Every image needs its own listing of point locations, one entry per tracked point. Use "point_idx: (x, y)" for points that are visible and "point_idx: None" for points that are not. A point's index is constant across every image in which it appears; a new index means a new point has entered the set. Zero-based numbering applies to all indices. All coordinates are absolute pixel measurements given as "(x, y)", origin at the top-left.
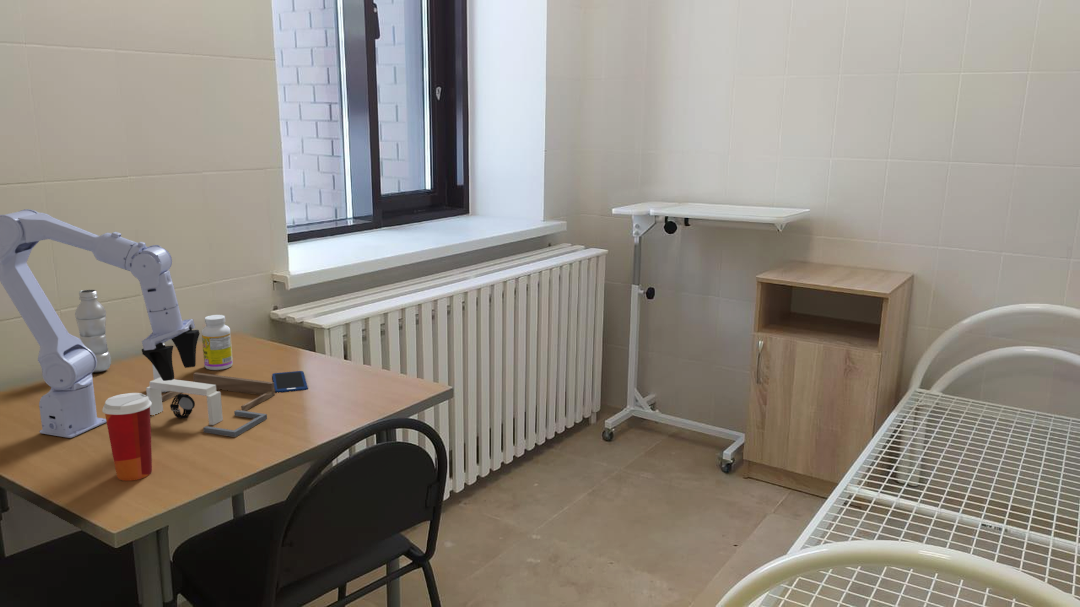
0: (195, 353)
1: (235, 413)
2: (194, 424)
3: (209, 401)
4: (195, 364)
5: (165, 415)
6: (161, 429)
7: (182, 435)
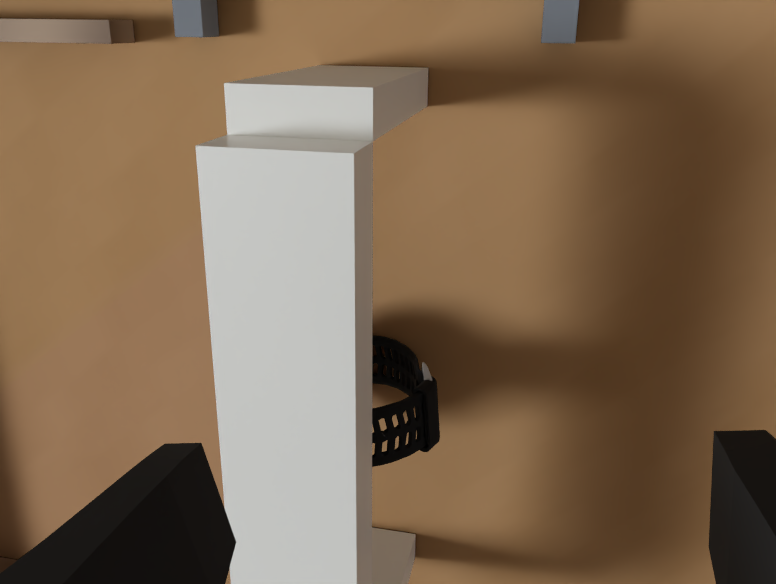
0: (34, 554)
1: (210, 26)
2: (453, 212)
3: (387, 102)
4: (151, 454)
5: (377, 475)
6: (596, 368)
7: (667, 162)
